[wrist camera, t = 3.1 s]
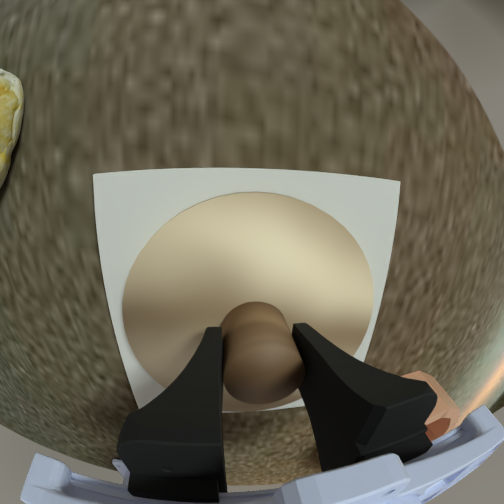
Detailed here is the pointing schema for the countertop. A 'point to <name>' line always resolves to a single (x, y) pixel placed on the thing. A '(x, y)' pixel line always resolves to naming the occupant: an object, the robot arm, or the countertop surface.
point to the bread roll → (9, 118)
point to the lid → (246, 293)
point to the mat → (221, 183)
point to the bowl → (438, 408)
